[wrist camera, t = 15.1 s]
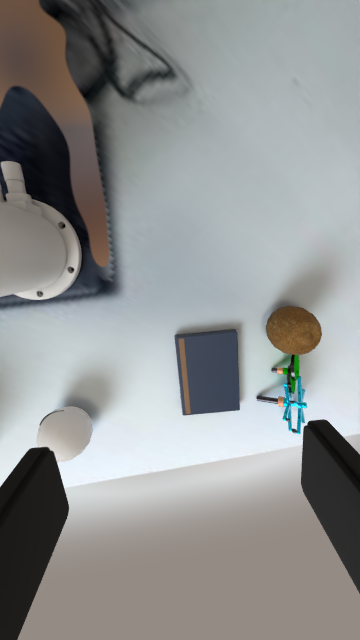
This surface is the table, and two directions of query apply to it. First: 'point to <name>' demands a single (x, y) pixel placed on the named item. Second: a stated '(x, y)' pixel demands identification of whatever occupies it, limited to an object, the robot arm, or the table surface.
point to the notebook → (208, 371)
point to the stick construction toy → (290, 394)
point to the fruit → (293, 330)
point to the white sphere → (65, 432)
